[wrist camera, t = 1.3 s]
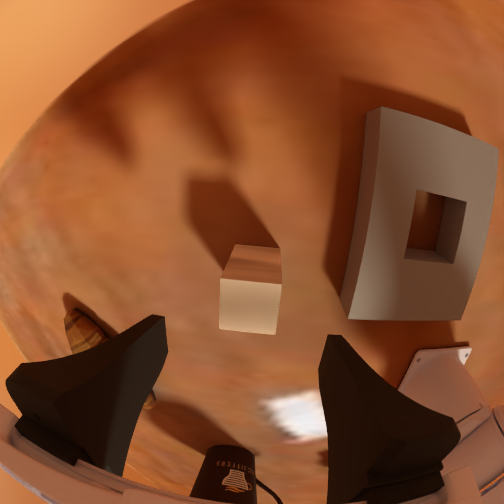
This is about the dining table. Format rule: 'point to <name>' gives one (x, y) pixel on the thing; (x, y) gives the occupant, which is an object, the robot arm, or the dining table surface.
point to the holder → (400, 216)
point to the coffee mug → (228, 477)
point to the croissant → (89, 339)
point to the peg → (251, 290)
